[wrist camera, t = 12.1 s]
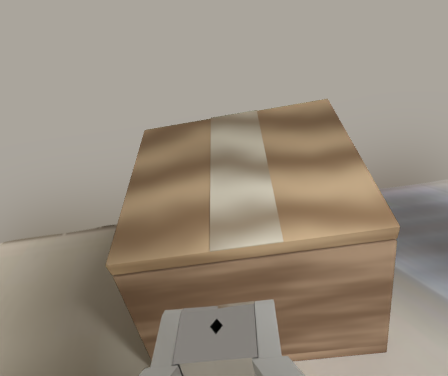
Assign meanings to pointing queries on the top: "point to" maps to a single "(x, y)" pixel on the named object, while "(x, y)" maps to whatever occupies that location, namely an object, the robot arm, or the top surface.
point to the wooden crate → (282, 296)
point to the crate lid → (247, 191)
